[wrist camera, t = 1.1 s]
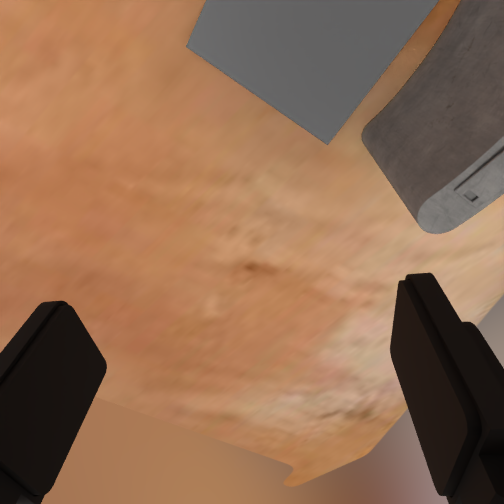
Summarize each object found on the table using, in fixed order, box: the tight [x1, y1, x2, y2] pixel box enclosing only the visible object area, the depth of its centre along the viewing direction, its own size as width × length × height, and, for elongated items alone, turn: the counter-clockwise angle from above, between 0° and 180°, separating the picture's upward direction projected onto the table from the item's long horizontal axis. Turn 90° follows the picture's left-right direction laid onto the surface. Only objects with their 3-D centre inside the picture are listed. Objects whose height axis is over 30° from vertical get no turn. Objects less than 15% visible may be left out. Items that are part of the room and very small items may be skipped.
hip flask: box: [362, 0, 504, 234], centre depth 25 cm, size 16×4×20 cm, turn 150°
